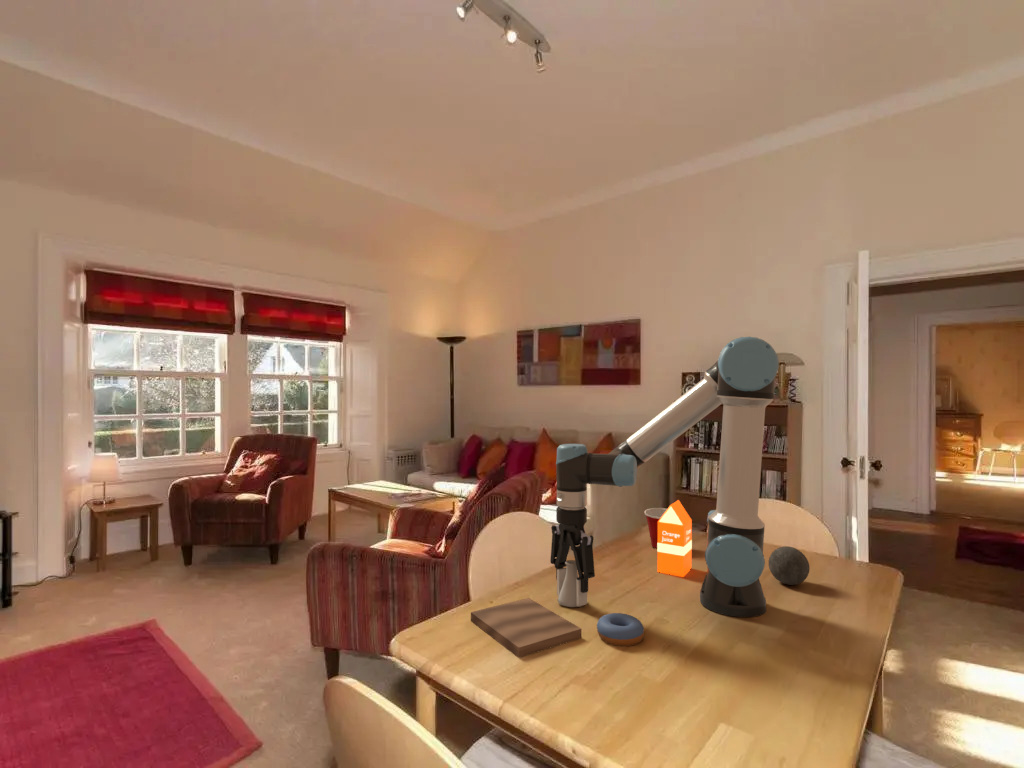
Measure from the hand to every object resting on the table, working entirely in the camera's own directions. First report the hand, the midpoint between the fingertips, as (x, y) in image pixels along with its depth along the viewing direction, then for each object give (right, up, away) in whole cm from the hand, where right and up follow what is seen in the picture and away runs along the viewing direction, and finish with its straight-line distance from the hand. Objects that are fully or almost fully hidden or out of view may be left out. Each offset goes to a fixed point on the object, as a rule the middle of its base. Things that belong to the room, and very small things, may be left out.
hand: (571, 599), depth 136 cm
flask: (0, -1, 0) cm, 1 cm away
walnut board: (-12, -1, -15) cm, 19 cm away
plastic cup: (+35, -1, +47) cm, 59 cm away
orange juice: (+33, -1, +25) cm, 41 cm away
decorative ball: (+61, -1, +14) cm, 62 cm away
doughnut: (+8, -1, -18) cm, 20 cm away
